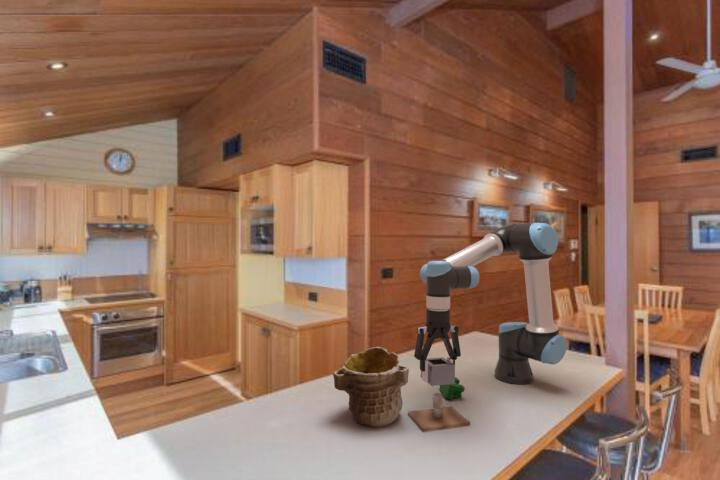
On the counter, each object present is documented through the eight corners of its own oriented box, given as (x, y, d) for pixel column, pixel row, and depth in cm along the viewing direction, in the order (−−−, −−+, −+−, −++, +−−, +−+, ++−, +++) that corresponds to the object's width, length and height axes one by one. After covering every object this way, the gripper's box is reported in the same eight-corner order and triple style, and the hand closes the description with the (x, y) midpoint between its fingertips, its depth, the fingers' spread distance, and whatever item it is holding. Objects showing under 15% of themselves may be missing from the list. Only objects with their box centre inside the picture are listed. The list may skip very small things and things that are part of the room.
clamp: (458, 410, 143) (466, 392, 140) (442, 406, 143) (450, 388, 139) (453, 386, 154) (461, 369, 151) (438, 383, 154) (446, 365, 150)
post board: (451, 409, 134) (451, 385, 134) (470, 425, 123) (470, 399, 123) (407, 414, 130) (407, 390, 130) (423, 431, 118) (423, 405, 118)
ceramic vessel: (365, 422, 106) (339, 338, 120) (337, 446, 123) (317, 369, 137) (431, 404, 117) (401, 328, 131) (397, 428, 134) (373, 359, 148)
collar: (442, 375, 131) (443, 357, 131) (454, 383, 123) (455, 364, 123) (420, 377, 129) (420, 358, 129) (431, 385, 121) (431, 366, 121)
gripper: (461, 305, 133) (460, 373, 133) (403, 308, 127) (402, 378, 127) (473, 309, 125) (472, 381, 125) (412, 312, 120) (412, 386, 120)
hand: (437, 379), depth 126 cm, fingers closed on collar, 8 cm apart
